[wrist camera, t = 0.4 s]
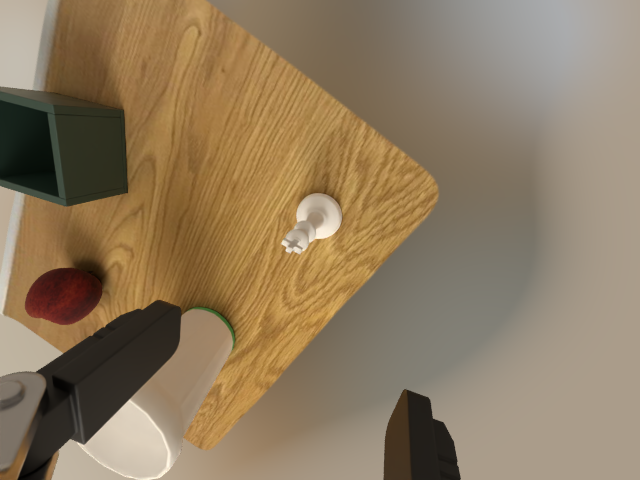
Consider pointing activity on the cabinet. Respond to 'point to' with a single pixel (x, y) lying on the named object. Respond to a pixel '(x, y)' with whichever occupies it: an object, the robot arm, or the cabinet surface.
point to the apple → (63, 295)
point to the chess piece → (313, 222)
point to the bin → (61, 147)
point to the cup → (165, 401)
